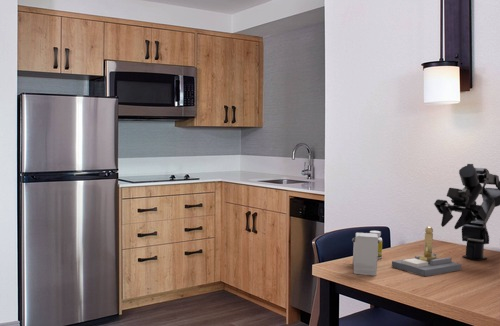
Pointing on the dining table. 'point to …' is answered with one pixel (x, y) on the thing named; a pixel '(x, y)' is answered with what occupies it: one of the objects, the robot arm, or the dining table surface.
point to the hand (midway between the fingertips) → (448, 227)
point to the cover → (415, 262)
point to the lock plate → (429, 266)
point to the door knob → (428, 246)
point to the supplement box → (365, 254)
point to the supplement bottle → (379, 243)
